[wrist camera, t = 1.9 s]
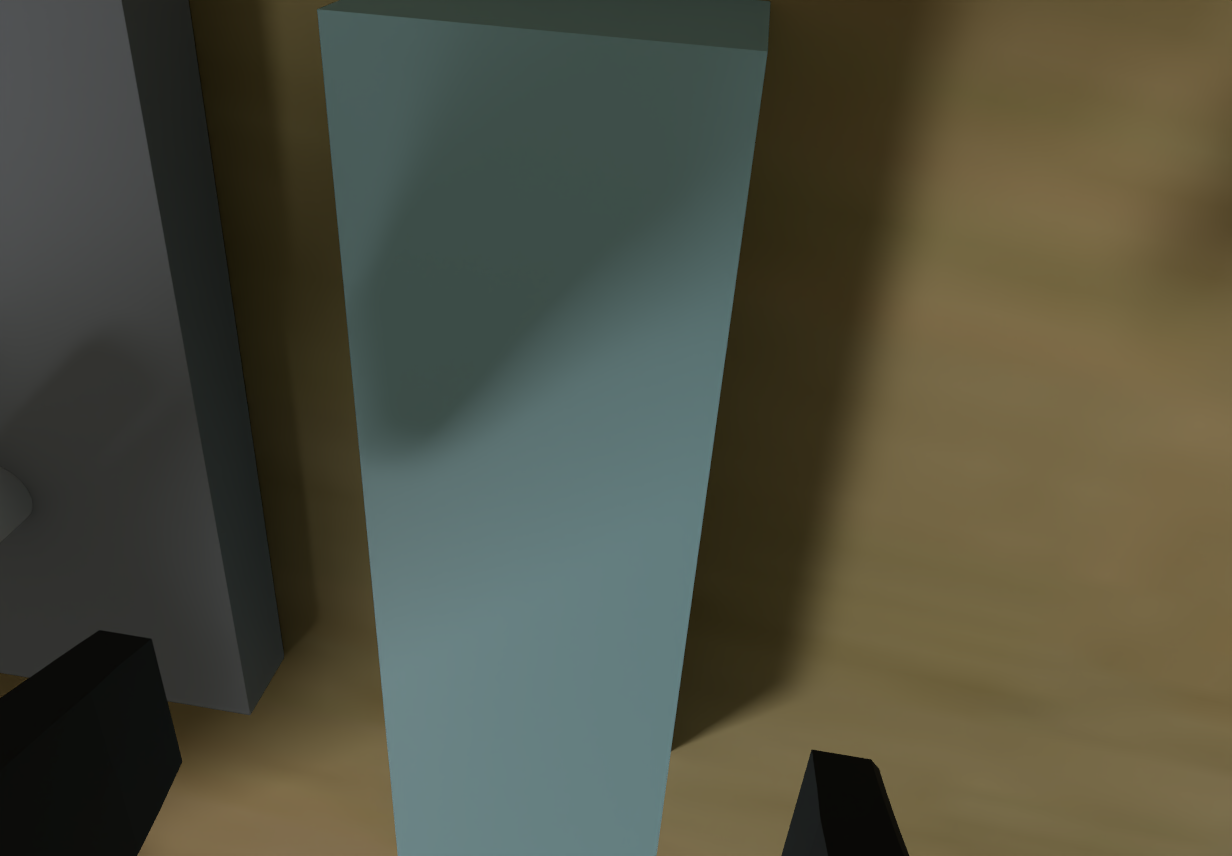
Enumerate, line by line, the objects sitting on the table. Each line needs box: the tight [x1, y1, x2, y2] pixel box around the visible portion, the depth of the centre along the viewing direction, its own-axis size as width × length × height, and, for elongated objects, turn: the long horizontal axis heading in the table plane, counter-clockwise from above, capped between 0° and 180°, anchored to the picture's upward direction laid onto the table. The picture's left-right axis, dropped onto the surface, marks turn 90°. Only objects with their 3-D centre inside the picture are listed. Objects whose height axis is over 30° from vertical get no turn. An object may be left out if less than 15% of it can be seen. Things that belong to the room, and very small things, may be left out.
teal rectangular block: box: [317, 0, 770, 856], centre depth 15 cm, size 14×4×4 cm, turn 176°
